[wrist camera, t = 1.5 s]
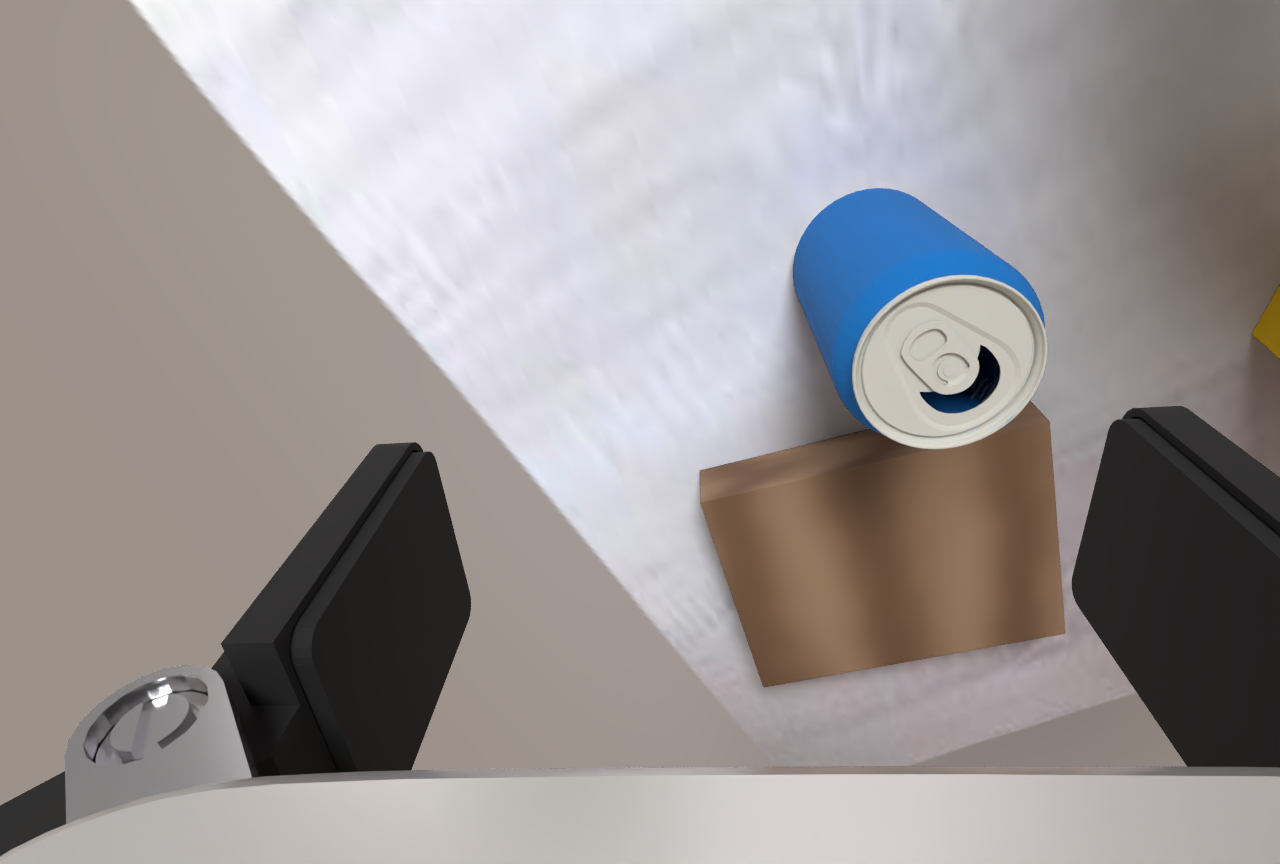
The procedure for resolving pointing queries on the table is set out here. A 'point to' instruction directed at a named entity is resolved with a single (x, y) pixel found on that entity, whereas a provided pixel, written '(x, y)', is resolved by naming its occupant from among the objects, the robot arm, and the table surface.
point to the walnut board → (889, 548)
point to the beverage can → (918, 321)
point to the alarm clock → (1270, 325)
